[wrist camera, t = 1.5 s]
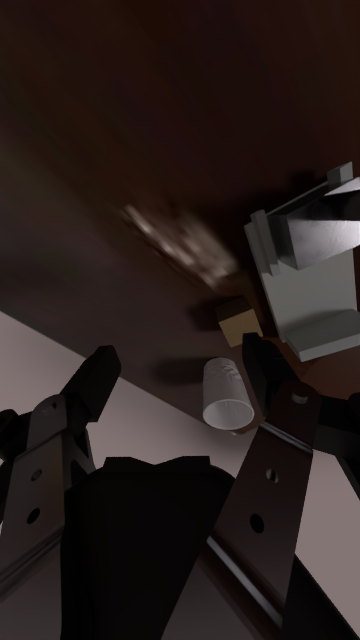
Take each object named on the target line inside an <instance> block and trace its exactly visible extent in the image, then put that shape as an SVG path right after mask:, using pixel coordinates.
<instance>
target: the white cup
mask: <svg viewBox="0 0 360 640" xmlns="http://www.w3.org/2000/svg"><path fill="white" fill-rule="evenodd" d="M253 417H254V411H253V408H252V406H251V403H250V400H249V397H248V395H247V392H246V389H245V386H244V384H243V381H242V379H241V376H240V374H239V372H238V369H237V367H236V365H235V363H234V362H233V361H231V360H230V359H228V358H222V357H219V358H214V359H212V360H210V361H208V362H207V363H206V365H205V366H204V379H203V418H204V420H205V421H206V422H207V423H208V424H209V425H211V426H212V427H215V428H218V429H224V430H231V429H238V428H241V427H243V426H245V425H247V424H249V423H250V422H251V421H252V419H253Z"/></svg>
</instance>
